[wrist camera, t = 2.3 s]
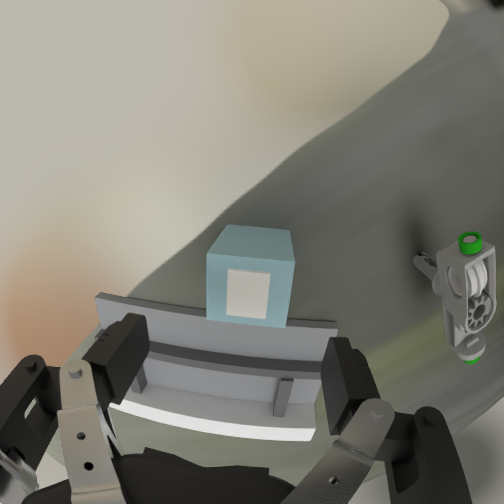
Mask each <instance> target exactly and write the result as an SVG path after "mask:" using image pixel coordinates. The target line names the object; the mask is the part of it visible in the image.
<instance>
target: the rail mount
mask: <svg viewBox="0 0 504 504" xmlns="http://www.w3.org/2000/svg"><path fill="white" fill-rule="evenodd" d="M95 302H96V306H97V311H98V315H99V319H100V324H101V328H102V329H101V330H100V332H99V333H98V334H97V335H96V336H95V340H98V338H99V337H100V336H101V334H103V332H104V331H105V330H106V328H107V327H108V326H109V325H111V324H113V323H115V322H116V321H121V320H122V319H123V318H124V317H125V315H126V314H127V313H129V312H130V313H135V314H141V315H144V316H145V317H146V321H147V327H148V334H149V340H150V349H149V353H148V356H147V357H146V359H145V361H144V363H143V364H142V366H141V368H140V370H139V372H138V373H137V375H136V377H135V379H134V381H133V382H132V384H131V386H130V388H129V390H128V391H127V393H126V395H125V397H124V399H123V401H122V403H121V404H120V405H117V404H114V403H110V405H109V407H112V408H115V409H118V410H121V411H124V412H127V413H130V414H133V415H136V416H140V417H143V418H147V419H150V420H154V421H158V422H161V423H165V424H169V425H174V426H178V427H182V428H187V429H192V430H197V431H203V432H208V433H214V434H221V435H228V436H235V437H244V438H254V439H266V440H285V441H310V440H311V438H312V436H313V434H314V432H315V429H316V424H315V414H314V402H315V400H316V397H317V394H318V391H319V389H320V386H321V383H322V381H321V375H320V371H321V364H322V360H323V357H324V354H325V350H326V347H327V344H328V340H329V338H330V337H336V336H337V332H338V327H337V323H336V322H327V321H311V320H297V319H287V320H286V326H285V328H277V327H266V326H256V325H246V324H237V323H229V322H221V321H213V320H207V315H206V310H202V309H195V308H188V307H181V306H174V305H168V304H162V303H156V302H150V301H144V300H138V299H133V298H127V297H122V296H117V295H112V294H107V293H102V292H100V293H99V294H98V295H97V296H96V297H95Z"/></svg>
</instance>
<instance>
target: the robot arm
mask: <svg viewBox="0 0 504 504" xmlns="http://www.w3.org/2000/svg"><path fill="white" fill-rule="evenodd" d="M149 349H150V340H149V334H148V327H147V321H146V317H145V316H144V315H141V314H135V313H130V312H129V313H127V314H126V315H125V317H124V318H123V319H122V320H121V321H116V322H115V323H113V324H111V325H109V326H108V327H107V328H106V330H105V331H104V332H103V334H101V336H100V337H99V338H98V340H96V342H95V343H94V344H93V345H92V346H91V348H90V349H89V350H88V351H87V353H86V354H85V355H84V356H83V358H82V359H73V360H70V361H67V362H66V363H64V364H63V365H62V367H52V366H46V364H45V361H44V359H43V358H42V357H41V356H38V355H29V356H27V357H25V358H23V359H22V360H21V361H20V362H19V363H18V365H17V366H16V367H15V368H14V370H13V371H12V372H11V373H10V374H9V375H8V377H7V378H6V379H5V380H4V382H3V383H2V384H1V385H0V502H1V503H2V504H348V502H349V501H350V500H351V498H352V497H353V495H354V494H355V492H356V491H357V489H358V488H359V486H360V485H361V483H362V482H363V480H364V478H365V477H366V475H367V474H368V472H369V470H370V469H371V467H372V465H373V463H374V461H375V460H378V461H384V462H385V468H386V474H387V480H388V486H389V494H390V501H391V504H472V500H471V496H470V493H469V489H468V485H467V482H466V478H465V475H464V472H463V469H462V465H461V462H460V459H459V456H458V453H457V450H456V448H455V445H454V442H453V439H452V437H451V434H450V431H449V429H448V426H447V424H446V421H445V419H444V416H443V415H442V413H441V412H440V411H439V410H437V409H436V408H433V407H428V406H426V407H422V408H420V409H418V410H417V411H416V413H415V414H414V415H412V414H405V413H399V412H395V411H394V409H393V407H392V406H391V405H390V404H389V403H388V402H386V401H384V400H382V399H381V398H380V395H379V393H378V390H377V387H376V384H375V382H374V379H373V376H372V374H371V371H370V368H369V367H368V363H367V360H366V358H365V356H364V355H363V354H362V353H361V352H360V351H359V350H358V349H352V348H351V345H350V342H349V339H348V338H347V337H330V338H329V340H328V344H327V347H326V350H325V354H324V357H323V360H322V364H321V371H320V375H321V381H322V387H323V393H324V399H325V406H326V412H327V418H328V425H329V432H330V435H339V437H338V439H337V440H336V441H335V442H334V443H333V444H332V445H331V447H330V448H329V449H328V450H327V452H326V453H325V454H324V455H323V457H322V458H321V459H320V460H319V462H318V463H317V464H316V465H315V466H314V468H313V469H312V470H311V471H310V472H309V473H308V475H307V476H306V477H305V478H304V479H303V480H302V481H301V482H300V483H299V485H298V486H297V487H295V486H293V485H292V484H290V483H288V482H287V481H285V480H283V479H280V478H277V477H275V476H271V475H269V468H262V467H249V466H239V465H236V466H224V467H201V466H199V465H196V464H194V463H192V462H189V461H187V460H185V459H183V458H180V457H178V456H176V455H174V454H170V453H166V452H162V451H158V450H155V449H151V448H147V447H145V449H144V452H143V454H127V455H125V454H124V452H123V450H122V448H121V446H120V443H119V441H118V438H117V435H116V432H115V429H114V425H113V422H112V419H111V415H110V412H109V409H108V407H109V405H110V403H114V404H117V405H120V404H121V403H122V401H123V399H124V397H125V395H126V393H127V391H128V390H129V388H130V386H131V384H132V382H133V381H134V379H135V377H136V375H137V373H138V372H139V370H140V368H141V366H142V364H143V363H144V361H145V359H146V357H147V356H148V353H149ZM34 398H35V400H36V404H35V405H34V407H33V408H32V410H31V411H30V413H29V414H28V416H27V417H26V419H25V417H24V414H25V411H26V409H27V408H28V406H29V405H30V403H31V402H32V400H33V399H34ZM58 426H59V432H60V439H61V445H62V450H63V456H64V460H65V465H66V470H67V474H68V478H69V479H67V480H64V481H62V482H59V483H56V484H54V485H51V486H48V487H45V488H43V489H40V490H38V489H39V484H38V483H37V476H36V473H35V471H36V469H37V467H38V465H39V463H40V461H41V459H42V457H43V455H44V453H45V451H46V449H47V447H48V445H49V443H50V441H51V439H52V437H53V436H54V434H55V432H56V430H57V428H58Z"/></svg>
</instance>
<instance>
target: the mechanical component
mask: <svg viewBox="0 0 504 504" xmlns="http://www.w3.org/2000/svg"><path fill="white" fill-rule="evenodd" d="M421 254H422V256H421V257H420V256H418V255H416V256H414V258H413V263H414V265H415V266H416V267H417V268H418V269H419V270H420V271H421V272H422V273H424V274H425V275H426V276H427V277H428V278H429V279H430V280H431V281H432V288H433V291H434V293H435V294H437V295H439V296H441V299H442V310H443V324H444V332H445V336H446V339H447V341H448V343H449V345H450V346H451V348H452V349H453V350H454V352H455V353H456V355H457V356H458V357H459V358H460V359H462V360H464V362H465V363H467V364H473V363H476V362H477V361H478V360H479V358H480V355H481V354H482V353H483V352H484V350H485V345H486V338H485V335H484V334H483V333H482V332H481V329H482V328H484V327H485V326H486V325H487V324H488V323H489V322H490V320H491V319H492V317H493V315H494V312H495V310H496V303H497V302H496V297H495V295H496V261H495V246H493V245H491V244H489V243H488V242H486V241H484V240H482V239H481V235H480V233H478V232H473V231H472V232H466V233H463V234H462V235H460V236H459V238H458V241H457V242H455V243H453V244H451V245H449V246H447V247H446V248H444V249H442V250H440V251H438V252H437V254H436V260H434V259H433V258H432V257H430V256H429V255H428V254H426V253H425V252H424V251H423V252H422V253H421ZM482 259H484V260H485V262H486V264H487V267H488V274H489V275H488V280H487V272H486V268H485V265H484V263H483V261H482Z"/></svg>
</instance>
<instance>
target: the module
mask: <svg viewBox="0 0 504 504" xmlns="http://www.w3.org/2000/svg"><path fill="white" fill-rule="evenodd" d="M294 267H295V258H294V252H293V247H292V241H291V236H290V231H289V230H284V229H274V228H263V227H253V226H241V225H230V224H227V225H226V227H225V228H224V229H223V231H222V232H221V234H220V235H219V236H218V238H217V239H216V241H215V242H214V244H213V245H212V246H211V248H210V249H209V251H208V252H207V265H206V315H207V320H213V321H221V322H229V323H237V324H246V325H256V326H266V327H277V328H285V326H286V320H287V314H288V308H289V301H290V295H291V288H292V281H293V274H294Z"/></svg>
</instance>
